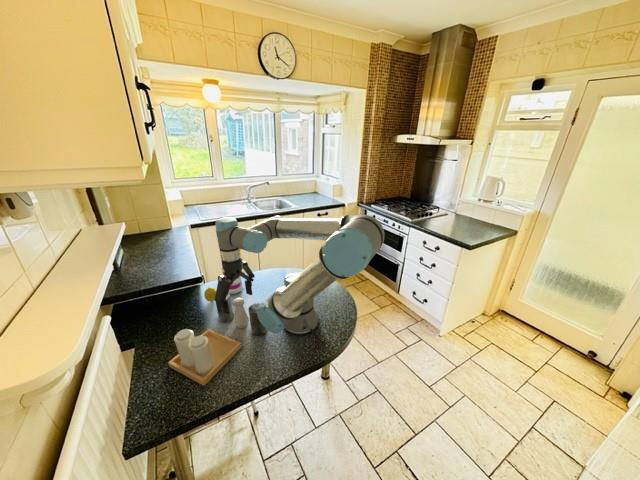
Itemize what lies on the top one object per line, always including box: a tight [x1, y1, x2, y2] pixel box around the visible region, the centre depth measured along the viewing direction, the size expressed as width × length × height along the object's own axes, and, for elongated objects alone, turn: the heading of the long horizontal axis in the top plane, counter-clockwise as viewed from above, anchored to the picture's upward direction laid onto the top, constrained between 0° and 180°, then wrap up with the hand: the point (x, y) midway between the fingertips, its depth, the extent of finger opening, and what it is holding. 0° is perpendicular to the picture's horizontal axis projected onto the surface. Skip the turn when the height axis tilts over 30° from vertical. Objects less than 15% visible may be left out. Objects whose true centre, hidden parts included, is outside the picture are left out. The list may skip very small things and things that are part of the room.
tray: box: [167, 328, 242, 387], centre depth 94 cm, size 17×18×3 cm
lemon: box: [203, 286, 217, 303], centre depth 123 cm, size 6×6×8 cm
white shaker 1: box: [173, 328, 196, 368], centre depth 90 cm, size 6×6×13 cm
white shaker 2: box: [189, 335, 214, 376], centre depth 87 cm, size 6×6×13 cm
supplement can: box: [221, 267, 243, 295], centre depth 130 cm, size 8×8×15 cm
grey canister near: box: [248, 302, 267, 337], centre depth 104 cm, size 6×6×12 cm
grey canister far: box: [215, 293, 234, 324], centre depth 111 cm, size 6×6×12 cm
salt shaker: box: [232, 297, 250, 329], centre depth 107 cm, size 6×6×13 cm
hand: (238, 303), depth 106 cm, fingers open, 13 cm apart
